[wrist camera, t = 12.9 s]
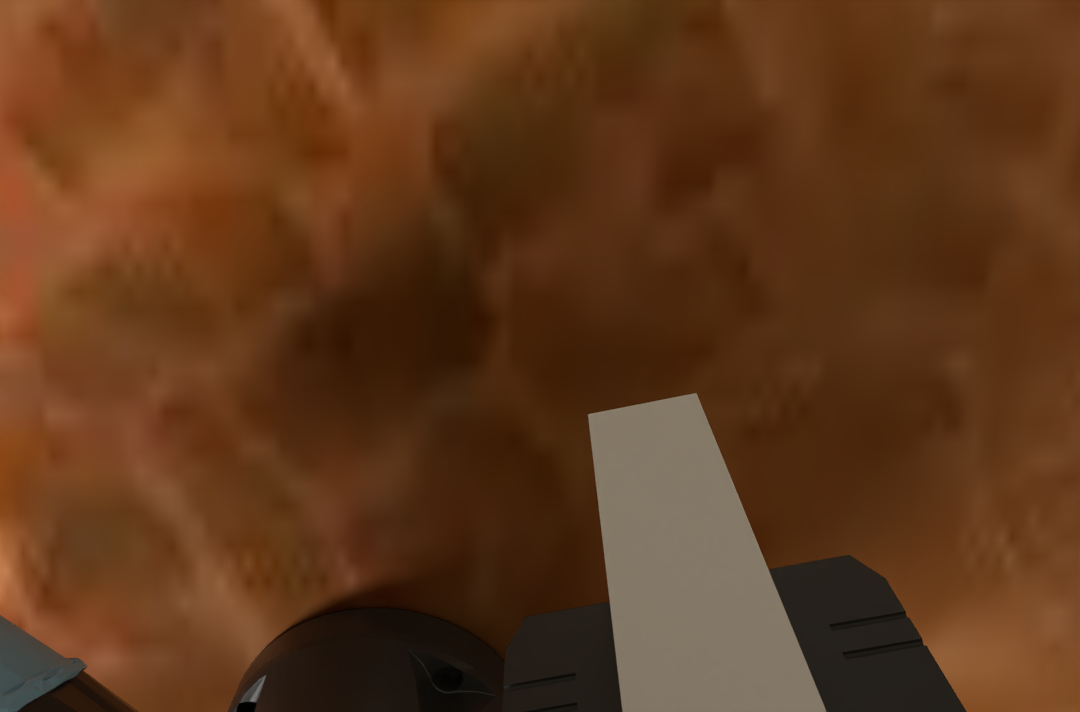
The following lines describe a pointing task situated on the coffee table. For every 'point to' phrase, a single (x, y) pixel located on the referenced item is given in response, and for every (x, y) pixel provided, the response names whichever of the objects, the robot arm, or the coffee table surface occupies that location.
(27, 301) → the coffee table surface
